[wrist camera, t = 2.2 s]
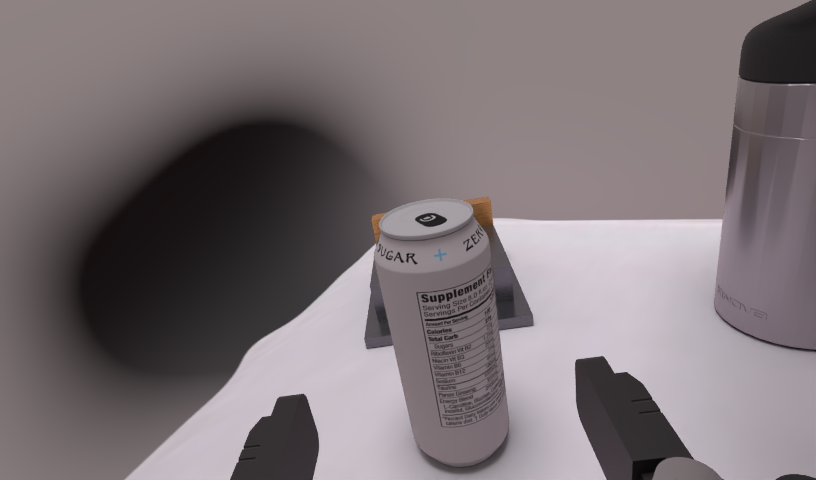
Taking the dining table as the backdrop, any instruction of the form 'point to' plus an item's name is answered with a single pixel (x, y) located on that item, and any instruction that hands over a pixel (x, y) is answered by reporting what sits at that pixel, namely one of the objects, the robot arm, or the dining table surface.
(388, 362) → the dining table surface
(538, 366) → the dining table surface
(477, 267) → the energy drink can
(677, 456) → the robot arm
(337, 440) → the dining table surface
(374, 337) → the keeper cradle
